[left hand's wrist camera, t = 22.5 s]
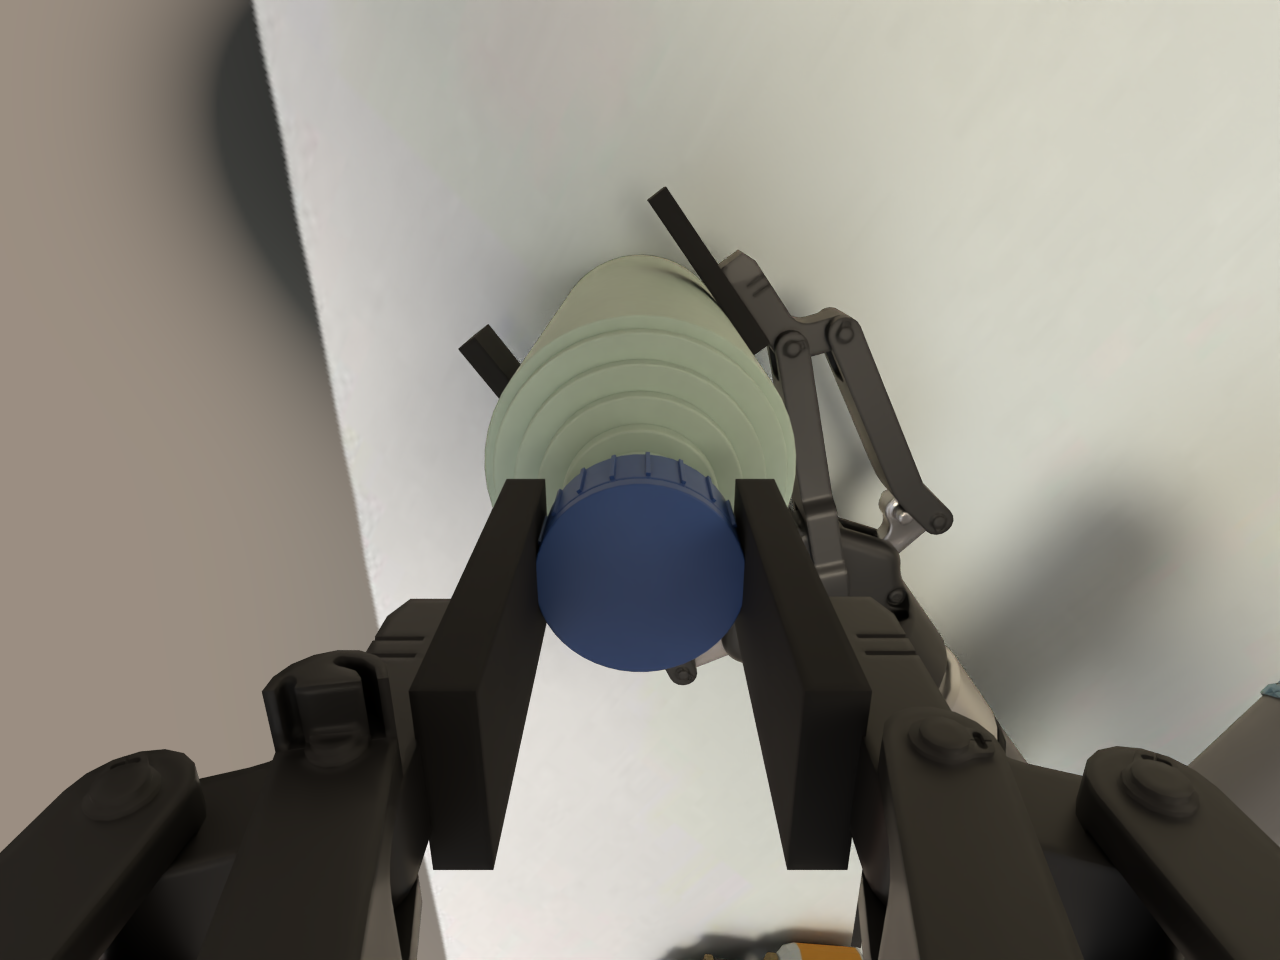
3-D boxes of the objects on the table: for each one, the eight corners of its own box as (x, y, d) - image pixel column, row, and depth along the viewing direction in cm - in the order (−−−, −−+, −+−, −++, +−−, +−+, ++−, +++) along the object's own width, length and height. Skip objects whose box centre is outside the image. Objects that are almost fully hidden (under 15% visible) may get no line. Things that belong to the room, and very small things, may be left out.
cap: (543, 442, 14) (532, 473, 12) (750, 456, 14) (764, 488, 12) (539, 621, 15) (528, 668, 14) (727, 632, 15) (737, 680, 14)
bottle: (658, 217, 32) (690, 263, 12) (756, 359, 34) (919, 597, 14) (521, 324, 34) (349, 520, 14) (623, 452, 36) (603, 782, 16)
